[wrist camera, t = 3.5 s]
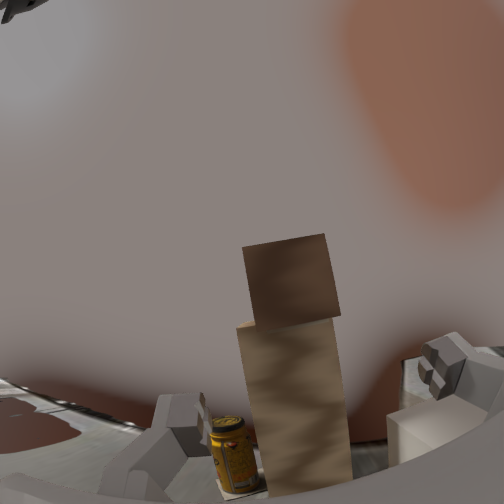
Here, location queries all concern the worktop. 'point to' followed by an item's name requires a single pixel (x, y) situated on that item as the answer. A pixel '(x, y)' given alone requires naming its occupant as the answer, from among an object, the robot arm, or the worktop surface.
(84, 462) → the worktop surface
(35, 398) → the worktop surface
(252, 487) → the condiment
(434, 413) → the step
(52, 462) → the worktop surface
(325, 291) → the bar
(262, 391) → the stand
